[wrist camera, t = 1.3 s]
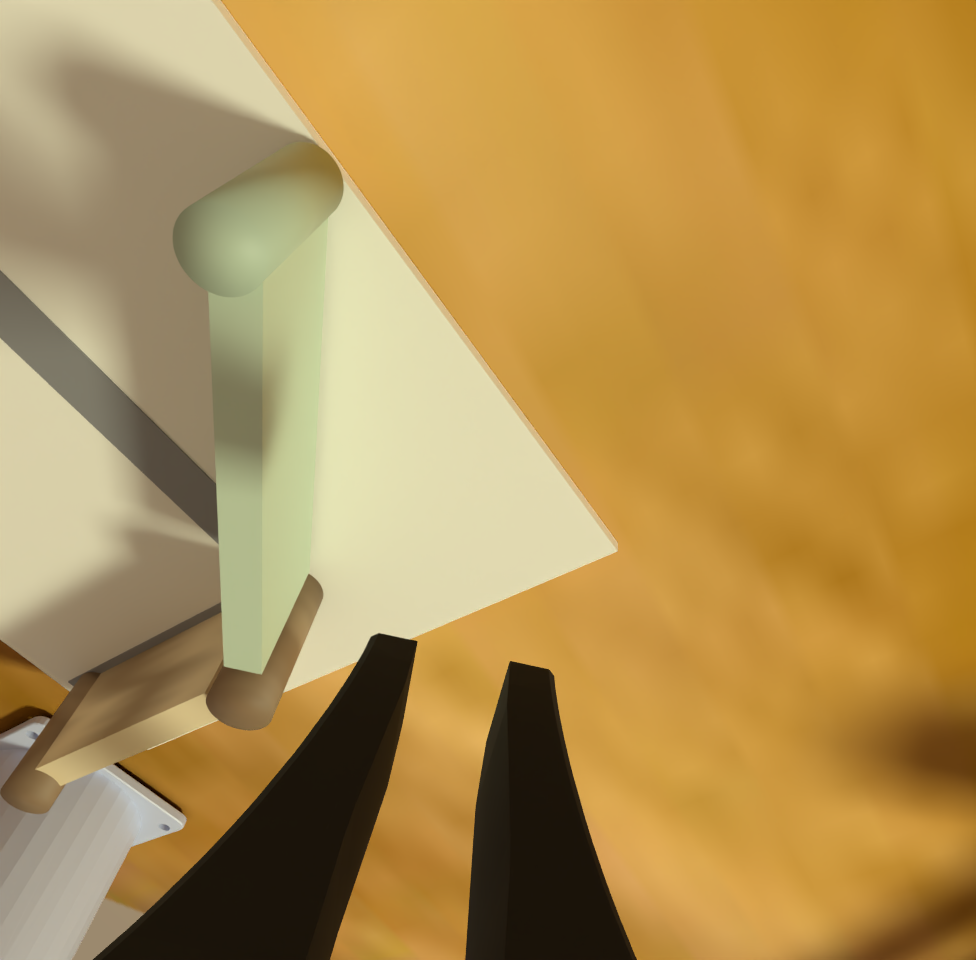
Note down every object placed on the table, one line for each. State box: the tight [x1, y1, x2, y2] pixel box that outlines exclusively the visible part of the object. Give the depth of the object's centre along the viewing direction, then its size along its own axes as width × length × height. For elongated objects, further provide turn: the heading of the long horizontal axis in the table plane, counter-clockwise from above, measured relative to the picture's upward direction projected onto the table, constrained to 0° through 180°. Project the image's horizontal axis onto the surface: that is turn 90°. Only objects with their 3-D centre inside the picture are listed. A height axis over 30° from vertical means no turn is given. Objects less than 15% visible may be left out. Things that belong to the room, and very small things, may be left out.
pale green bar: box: [173, 142, 344, 675], centre depth 17 cm, size 12×2×5 cm, turn 170°
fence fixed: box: [0, 574, 323, 814], centre depth 24 cm, size 12×2×5 cm, turn 125°
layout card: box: [0, 0, 618, 750], centre depth 22 cm, size 21×20×1 cm
